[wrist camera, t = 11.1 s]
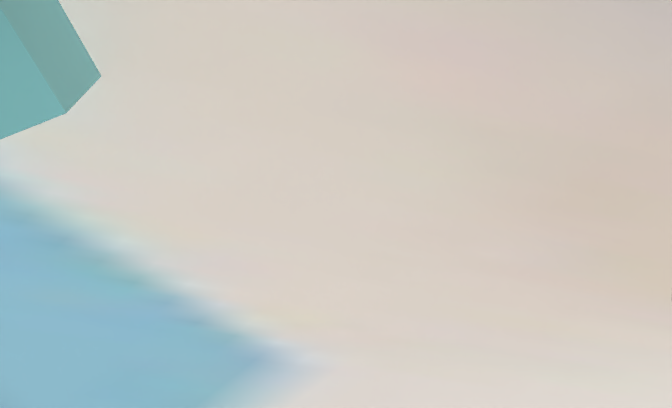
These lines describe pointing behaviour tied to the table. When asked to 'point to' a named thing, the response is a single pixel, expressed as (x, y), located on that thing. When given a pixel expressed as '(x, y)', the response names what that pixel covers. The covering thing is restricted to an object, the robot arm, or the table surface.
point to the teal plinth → (39, 64)
